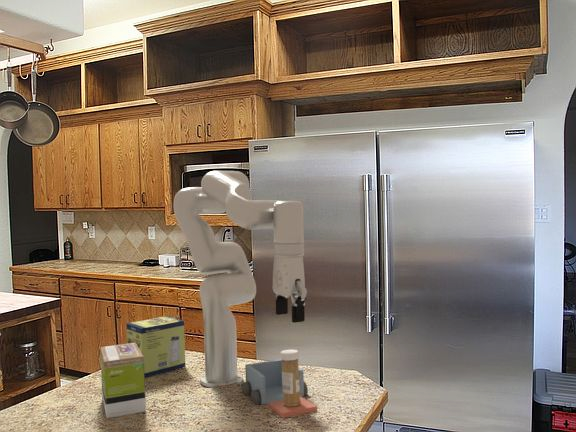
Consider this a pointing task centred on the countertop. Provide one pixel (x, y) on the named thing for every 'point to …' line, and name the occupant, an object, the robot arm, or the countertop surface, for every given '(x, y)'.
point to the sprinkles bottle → (290, 378)
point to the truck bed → (267, 382)
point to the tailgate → (292, 408)
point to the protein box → (159, 343)
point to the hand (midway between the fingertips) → (289, 317)
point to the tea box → (122, 380)
